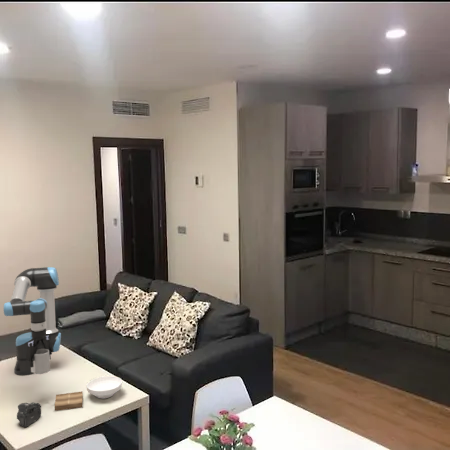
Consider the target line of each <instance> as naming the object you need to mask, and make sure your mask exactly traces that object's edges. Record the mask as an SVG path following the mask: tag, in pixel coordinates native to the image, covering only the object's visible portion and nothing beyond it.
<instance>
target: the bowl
mask: <svg viewBox="0 0 450 450" xmlns="http://www.w3.org/2000/svg"><path fill="white" fill-rule="evenodd" d="M85 386H86V390H87V393H89V394H90V395H92V396H95V397H96V398H98V399H107V398H111V397H112V396H114V394H115V393H116V392H119V391H120V390H121V388H122V386H123V380H122V378H121V377H119V376H114V375H101V376H98V377H97V376H96V377H95V378H93V379H92V378H91V380H89V381H88V382H86V385H85Z"/></svg>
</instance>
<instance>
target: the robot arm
mask: <svg viewBox="0 0 450 450" xmlns="http://www.w3.org/2000/svg"><path fill="white" fill-rule="evenodd" d="M59 284H60V280H59V274H58V271H57V268H55V267H51V266H50V267H49V266H48V267H47V266H46V267H45V266H44V267H36V268H35V267H30V268H27V269H24V270H23V271H21V272H20V273H19V274H18V275H17V276H16V277H15V279H14V283H13V285H14V288H13V290H12V291H13V292H12V294H11V298H10V300H9V301H8V302H5V303H4V304H3V314H4V316H6V317H15V316H25V315H26V316H27V315H30V330H31V331H30V332H25V333H22V334H20V335H18V336H17V337H16V339H15V350H16V351H15V352H16V361H15V365H14V369H13V370H14V374H15V375H18V376H27V375H28V376H29V375H32V374H35V373H36V370H35V361H34V358H35V357H34V354H36V352H37V350H38V349H48V350H49V358H50V361H51V359H52V357H51V356H52V354H53V353H55V352H56V353H57V352H59V350H60V348H61V340H62V339H61V338H62V333H61V332H59V329H58V328H57V326H56V324H57V323H56V303H55V300H56V299H55V298H56V297H55V290H56V289H57V288H58V287H57V286H59ZM33 287H34V288H35V287H36V289H37V291H38V292H39V298H36V299H35V300H26V297H27V294H28V290H29V289H30V288H33Z"/></svg>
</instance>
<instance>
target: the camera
mask: <svg viewBox="0 0 450 450" xmlns="http://www.w3.org/2000/svg"><path fill="white" fill-rule="evenodd" d="M17 409H18V411H17V414H16V419H17V420H18V421H19V425H20V427H25V428H27V427H29V426H30V425H32V424H33V423H35V422H36V421H37V420H39V418H40V417H41V415H42V405H41V404H40V403H39V402H22V403H20V404H18V405H17Z"/></svg>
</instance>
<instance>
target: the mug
mask: <svg viewBox="0 0 450 450" xmlns="http://www.w3.org/2000/svg"><path fill="white" fill-rule="evenodd" d="M34 357H35V358H34V361H35V370H36V373H34V374H35V375H44V374H46V373H48V372H49V371H50V370H51V360H50V358H49V350H48V349H38V350H37V352H36V354H34Z"/></svg>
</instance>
